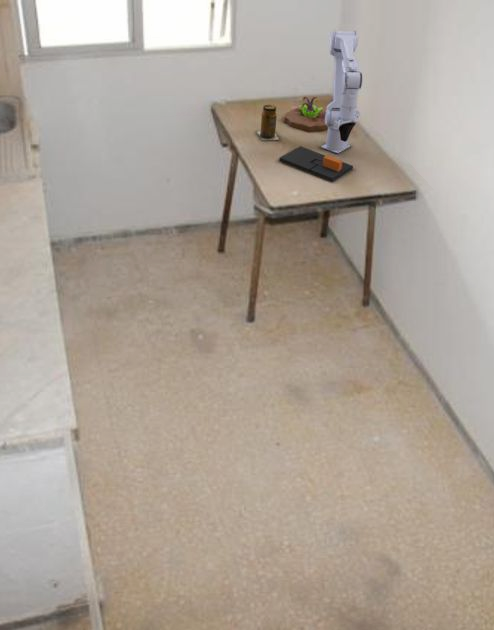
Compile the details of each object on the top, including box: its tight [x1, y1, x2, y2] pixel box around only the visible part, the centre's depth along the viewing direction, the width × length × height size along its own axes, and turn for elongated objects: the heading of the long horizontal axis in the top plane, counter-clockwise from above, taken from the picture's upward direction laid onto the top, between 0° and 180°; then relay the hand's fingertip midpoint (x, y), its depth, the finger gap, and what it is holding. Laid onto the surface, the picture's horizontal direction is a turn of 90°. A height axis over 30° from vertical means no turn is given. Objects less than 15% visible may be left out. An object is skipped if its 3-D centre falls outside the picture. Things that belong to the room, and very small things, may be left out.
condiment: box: [256, 104, 280, 141], centre depth 290 cm, size 7×8×12 cm
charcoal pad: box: [309, 155, 354, 183], centre depth 271 cm, size 14×13×5 cm
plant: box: [283, 96, 328, 133], centre depth 304 cm, size 20×20×11 cm
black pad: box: [278, 145, 326, 174], centre depth 277 cm, size 14×14×2 cm
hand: (343, 140), depth 270 cm, fingers closed
